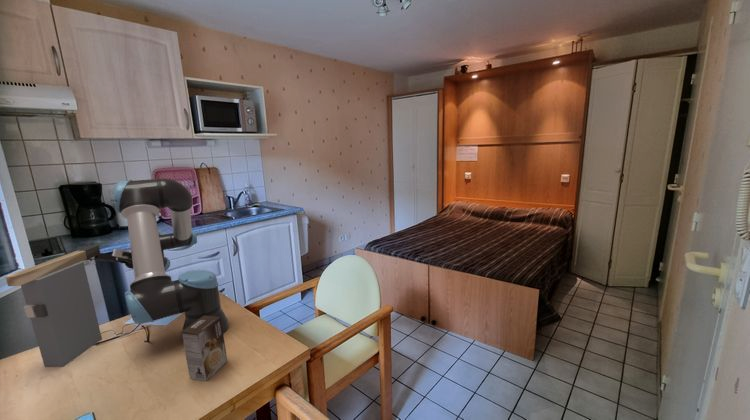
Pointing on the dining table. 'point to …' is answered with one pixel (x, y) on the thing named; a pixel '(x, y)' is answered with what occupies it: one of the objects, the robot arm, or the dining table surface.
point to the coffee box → (204, 347)
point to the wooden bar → (52, 266)
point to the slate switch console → (62, 314)
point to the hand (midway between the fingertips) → (95, 252)
